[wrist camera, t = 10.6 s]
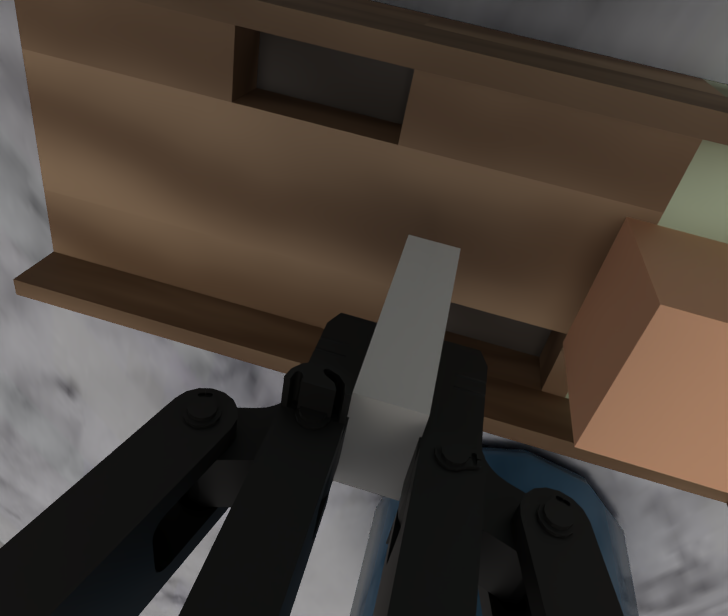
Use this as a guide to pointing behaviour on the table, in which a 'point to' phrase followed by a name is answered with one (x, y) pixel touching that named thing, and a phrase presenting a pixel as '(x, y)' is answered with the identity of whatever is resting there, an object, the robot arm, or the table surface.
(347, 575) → the table surface
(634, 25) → the table surface
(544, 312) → the trap box
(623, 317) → the block
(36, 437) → the table surface
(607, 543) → the wine bottle
